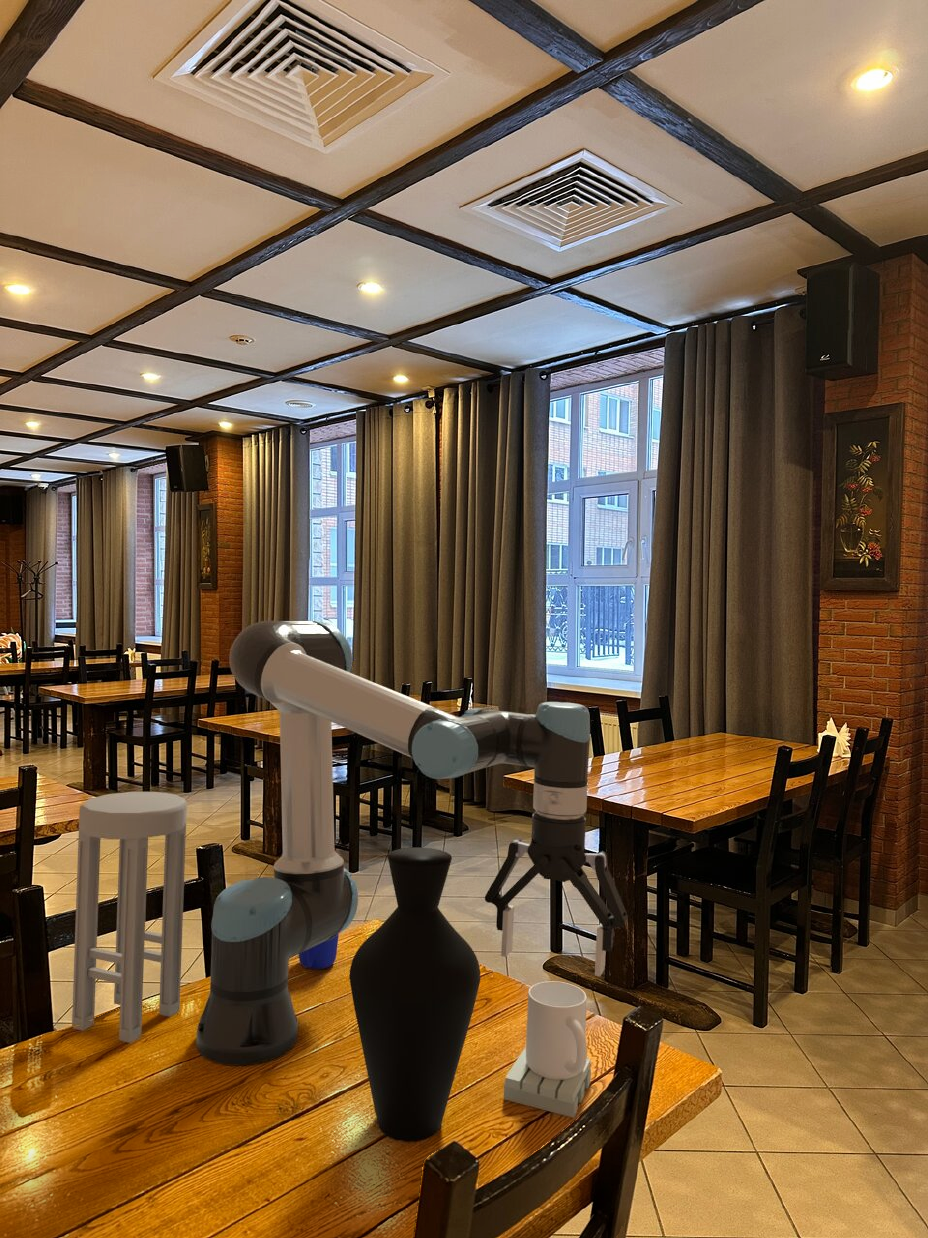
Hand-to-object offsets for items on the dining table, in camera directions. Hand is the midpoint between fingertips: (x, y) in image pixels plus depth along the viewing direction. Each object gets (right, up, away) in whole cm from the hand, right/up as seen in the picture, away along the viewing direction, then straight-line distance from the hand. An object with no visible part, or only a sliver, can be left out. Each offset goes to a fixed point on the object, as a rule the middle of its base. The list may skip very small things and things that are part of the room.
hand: (552, 963), depth 120 cm
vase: (-20, -18, -8) cm, 28 cm away
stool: (-66, -16, +16) cm, 70 cm away
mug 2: (+1, -15, -1) cm, 15 cm away
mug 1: (-40, -17, +38) cm, 58 cm away
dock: (-1, -18, 0) cm, 18 cm away
